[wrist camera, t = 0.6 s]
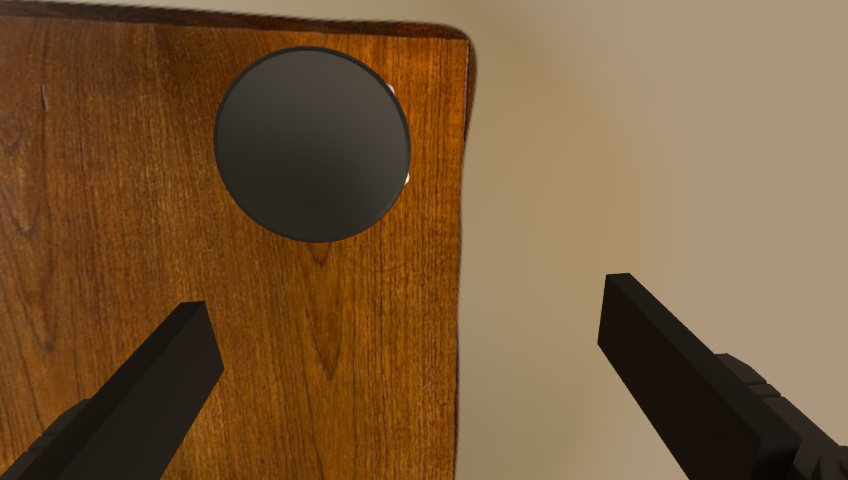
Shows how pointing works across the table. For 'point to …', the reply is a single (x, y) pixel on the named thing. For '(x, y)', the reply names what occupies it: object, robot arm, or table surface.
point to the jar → (312, 144)
